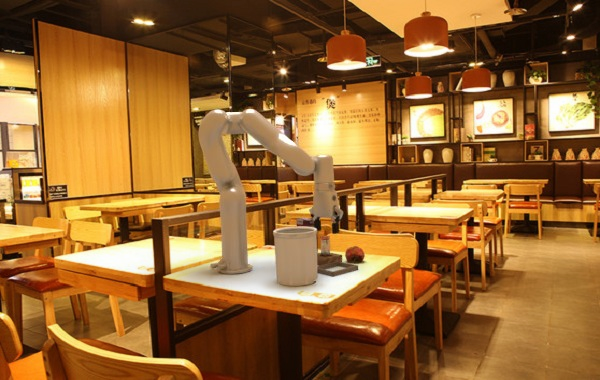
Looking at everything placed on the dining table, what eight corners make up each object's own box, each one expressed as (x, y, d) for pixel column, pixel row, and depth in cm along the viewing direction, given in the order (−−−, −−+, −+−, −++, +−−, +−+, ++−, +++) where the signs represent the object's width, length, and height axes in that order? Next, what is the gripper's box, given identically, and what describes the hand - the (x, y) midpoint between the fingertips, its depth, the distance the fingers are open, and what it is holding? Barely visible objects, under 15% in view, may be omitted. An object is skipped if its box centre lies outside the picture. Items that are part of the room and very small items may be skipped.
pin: (325, 264, 169) (325, 237, 168) (319, 263, 171) (318, 236, 171) (332, 262, 171) (331, 236, 170) (325, 261, 173) (325, 235, 173)
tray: (332, 279, 151) (332, 272, 151) (312, 274, 158) (312, 267, 158) (358, 272, 160) (358, 265, 159) (338, 267, 167) (337, 261, 167)
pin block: (325, 269, 165) (325, 258, 165) (309, 265, 172) (308, 255, 171) (342, 265, 171) (342, 254, 170) (325, 261, 178) (325, 251, 177)
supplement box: (296, 255, 191) (295, 218, 190) (305, 253, 194) (304, 217, 193) (310, 258, 184) (309, 220, 183) (318, 256, 188) (317, 219, 186)
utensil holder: (272, 287, 144) (270, 233, 143) (277, 275, 159) (275, 226, 157) (318, 286, 143) (316, 232, 142) (318, 274, 158) (317, 225, 157)
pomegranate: (365, 271, 169) (367, 251, 176) (360, 259, 164) (363, 239, 172) (346, 272, 172) (349, 252, 179) (341, 260, 167) (344, 240, 174)
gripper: (348, 187, 165) (350, 232, 166) (315, 186, 178) (318, 228, 179) (333, 188, 160) (336, 235, 161) (301, 188, 173) (304, 231, 174)
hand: (326, 232), depth 170 cm, fingers open, 9 cm apart
